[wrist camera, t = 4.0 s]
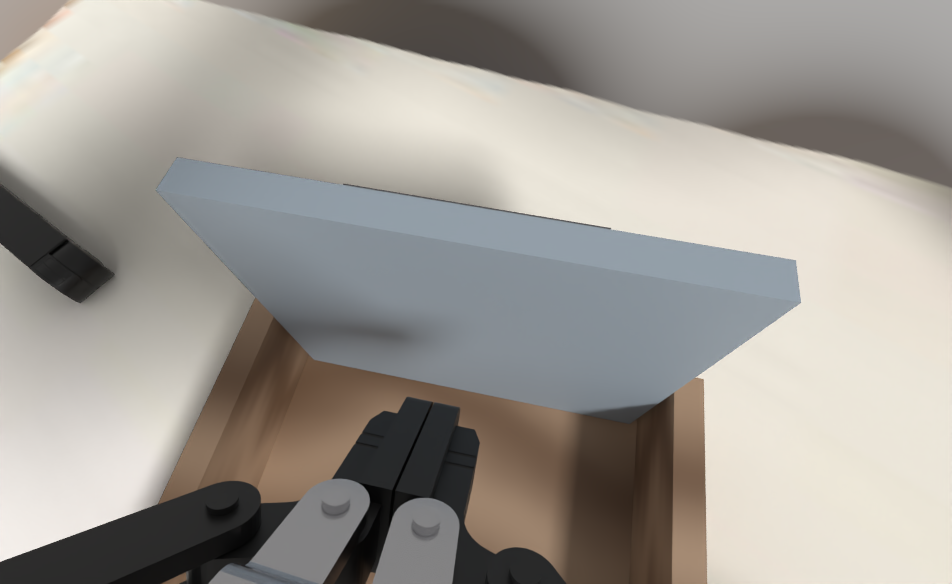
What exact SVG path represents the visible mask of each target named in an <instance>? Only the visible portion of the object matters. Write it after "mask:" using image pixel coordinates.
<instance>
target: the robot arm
mask: <svg viewBox="0 0 952 584" xmlns="http://www.w3.org/2000/svg"><path fill="white" fill-rule="evenodd" d="M459 416H460V407H456V406H451V405H447V404H442V403H437V402H434V404H433V402H432V401H427V400H422V399H417V398H412V397H406V399H405V401H404V402H403V404H402V406H401V408H400V409H399V411H398V413H394V412H389V411H383V412H381V413H380V414H378V415H376V416H375V417H373V418H372V419H370V421H369V422H368V424H367V425H366V427H365V428H364V430H363V431H362V434H360V436H359V438H358V439H357V441H356V443H355V444H354V445H353V447H352V448H351V450H350V451H349V453H348V454H347V456H346V458H345V459H344V461H343V462H342V464H341V465H340V467H339V468H338V470H337V471H336V473H335V475H334V476H333V478H332V479H331V480H327V481H323V482H321V483H318V484H317V485H315V486H313V487H312V488H311V489H309V490H308V491H307V492H306V494H305V495H304V496H303V497H302V499H301V500H299V501H294V502H278V503H261V495H260V493H259V491H258V489H257V488H256V487H254V486H253V485H251V484H249V483H246V482H242V481H224V482H219V483H216V484H213V485H210V486H207V487H204V488H201V489H199V490H196V491H193V492H191V493H188V494H185V495H182V496H180V497H177V498H174V499H171V500H169V501H166V502H163V503H160V504H158V505H155V506H152V507H149V508H147V509H144V510H141V511H138V512H136V513H133V514H130V515H128V516H125V517H122V518H119V519H117V520H114V521H111V522H108V523H106V524H103V525H100V526H97V527H95V528H92V529H89V530H86V531H84V532H81V533H78V534H75V535H73V536H70V537H67V538H65V539H62V540H59V541H56V542H54V543H51V544H48V545H45V546H43V547H40V548H37V549H34V550H32V551H29V552H26V553H23V554H21V555H18V556H15V557H12V558H10V559H7V560H4V561H2V562H0V584H162V583H164V582H166V581H168V580H170V579H172V578H174V577H177V576H179V575H181V574H183V573H185V572H186V581H184V582H182V583H179V584H366V582H367V579H368V577H369V575H370V572H373V573H375V576H374V580H373V583H372V584H566V582H565V581H564V580H563V578H562V577H561V576H560V575H559V573H558V572H557V571H556V569H555V568H554V567H553V565H552V564H551V563H550V562H549V561H548V560H547V559H546V558H544V557H543V556H542V555H540V554H539V553H537V552H535V551H533V550H530V549H527V548H521V547H512V548H507V549H503V550H501V551H499V552H498V553H497V554H495V553H493V552H491V551H489V550H487V549H486V548H484V547H482V546H481V545H480V544H478V543H477V542H476V541H475V540H474V539H473V538H472V537H471V535H470V534H469V532H468V531H467V529H466V526H465V518H466V514H467V509H468V504H469V500H470V495H471V491H472V486H473V480H474V474H475V468H476V462H477V457H478V451H479V445H480V442H479V439H478V436H477V434H476V431H475V429H470V428H465V427H461V426H458V423H459Z"/></svg>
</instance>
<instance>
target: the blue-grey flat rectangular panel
mask: <svg viewBox="0 0 952 584" xmlns="http://www.w3.org/2000/svg"><path fill="white" fill-rule="evenodd" d="M156 191H157V192H158V193H159V194H160V195H161V197H162V198H163V199H164V200H165V201H166V202H167V203H168V204H169V205H170V206H171V207H172V208H173V209H174V210H175V212H176V213H177V214H178V215H179V216H180V217H181V218H182V219H183V220H184V221H185V222H186V223H187V224H188V225H189V227H190V228H191V229H192V230H193V231H194V232H195V233H196V234H197V235H198V236H199V237H200V238H201V239H202V240H203V242H204V243H205V244H206V245H207V246H208V247H209V248H210V249H211V250H212V251H213V252H214V253H215V254H216V255H217V256H218V258H219V259H220V260H221V261H222V262H223V263H224V264H225V265H226V266H227V267H228V268H229V269H230V270H231V271H232V273H233V274H234V275H235V276H236V277H237V278H238V279H239V280H240V281H241V282H242V283H243V284H244V285H245V286H246V288H247V289H248V290H249V291H250V292H251V293H252V294H253V295H254V296H255V297H256V298H257V299H258V300H259V301H260V303H261V304H262V305H263V306H264V307H265V308H266V309H267V310H268V311H269V312H270V313H271V314H272V315H273V316H274V318H275V319H276V320H277V321H278V322H279V323H280V324H281V325H282V326H283V327H284V328H285V329H286V330H287V331H288V333H289V334H290V335H291V336H292V337H293V338H294V339H295V340H296V341H297V342H298V343H299V344H300V345H301V346H302V348H303V349H304V350H305V351H306V352H307V353H308V354H309V355H310V356H311V357H312V358H313V359H314V360H318V361H322V362H327V363H332V364H337V365H342V366H347V367H352V368H357V369H362V370H367V371H372V372H376V373H381V374H386V375H391V376H396V377H401V378H406V379H411V380H416V381H421V382H426V383H430V384H435V385H440V386H445V387H450V388H455V389H460V390H465V391H470V392H475V393H479V394H484V395H489V396H494V397H499V398H504V399H509V400H514V401H519V402H524V403H529V404H533V405H538V406H543V407H548V408H553V409H558V410H563V411H568V412H573V413H578V414H582V415H587V416H592V417H597V418H602V419H607V420H612V421H617V422H622V423H627V424H630V423H632V422H633V421H635V420H636V419H637V418H639V417H640V416H642V415H643V414H644V413H646V412H647V411H649V410H650V409H651V408H653V407H654V406H656V405H657V404H659V403H660V402H661V401H663V400H664V399H666V398H667V397H668V396H670V395H671V394H673V393H674V392H675V391H677V390H678V389H680V388H681V387H683V386H684V385H685V384H687V383H688V382H690V381H691V380H692V379H694V378H695V377H697V376H698V375H699V374H701V373H702V372H704V371H705V370H707V369H708V368H709V367H711V366H712V365H714V364H715V363H716V362H718V361H719V360H721V359H722V358H724V357H725V356H726V355H728V354H729V353H731V352H732V351H733V350H735V349H736V348H738V347H739V346H740V345H742V344H743V343H745V342H746V341H748V340H749V339H750V338H752V337H753V336H755V335H756V334H757V333H759V332H760V331H762V330H763V329H764V328H766V327H767V326H769V325H770V324H772V323H773V322H774V321H776V320H777V319H779V318H780V317H781V316H783V315H784V314H786V313H787V312H788V311H790V310H791V309H793V308H794V307H796V306H797V305H798V304H800V303H801V299H800V291H799V283H798V275H797V267H796V260H790V259H784V258H778V257H772V256H766V255H760V254H754V253H748V252H742V251H736V250H730V249H724V248H718V247H712V246H706V245H700V244H694V243H688V242H682V241H676V240H670V239H664V238H658V237H652V236H646V235H640V234H634V233H628V232H622V231H616V230H611V228H607V227H601V226H595V225H589V224H583V223H577V222H571V221H565V220H559V219H553V218H547V217H541V216H535V215H529V214H523V213H517V212H511V211H504V210H498V209H492V208H486V207H480V206H474V205H468V204H462V203H456V202H450V201H444V200H438V199H432V198H426V197H420V196H414V195H408V194H402V193H396V192H390V191H384V190H378V189H372V188H366V187H360V186H354V185H348V184H343V185H340V184H334V183H328V182H322V181H316V180H310V179H304V178H298V177H292V176H286V175H280V174H274V173H268V172H262V171H256V170H250V169H244V168H238V167H232V166H226V165H220V164H214V163H208V162H202V161H196V160H190V159H184V158H178V157H177V158H176V160H175V161H174V163H173V164H172V166H171V167H170V169H169V170H168V172H167V173H166V175H165V176H164V178H163V179H162V181H161V182H160V184H159V185H158V187H157V188H156Z"/></svg>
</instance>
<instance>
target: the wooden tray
mask: <svg viewBox="0 0 952 584" xmlns="http://www.w3.org/2000/svg"><path fill="white" fill-rule="evenodd" d="M406 397H412V398H417V399H422V400H427V401H432V402H433V404H434V402H437V403H442V404H447V405H451V406H456V407H460V416H459V423H458V426H461V427H465V428H470V429H475V431H476V434H477V436H478V439H479V442H480V445H479V451H478V457H477V462H476V468H475V474H474V480H473V486H472V491H471V495H470V500H469V504H468V509H467V514H466V518H465V526H466V529H467V531H468V532H469V534H470V535H471V537H472V538H473V539H474V540H475V541H476V542H477V543H478V544H480V545H481V546H482V547H484V548H486V549H487V550H489V551H491V552H493V553H495V554H497V553H498V552H499V551H501V550H503V549H507V548H512V547H521V548H527V549H530V550H533V551H535V552H537V553H539V554H540V555H542V556H543V557H544V558H546V559H547V560H548V561H549V562H550V563H551V564H552V565H553V567H554V568H555V569H556V571H557V572H558V573H559V575H560V576H561V577H562V578H563V580H564V581H565V582H566V584H707V551H706V492H705V433H704V379H700V378H694V379H692V380H691V381H690V382H688V383H687V384H685V385H684V386H683V387H681V388H680V389H678V390H677V391H675V392H674V393H673V394H671V395H670V396H668V397H667V398H666V399H664V400H663V401H661V402H660V403H659V404H657V405H656V406H654V407H653V408H651V409H650V410H649V411H647V412H646V413H644V414H643V415H642V416H640V417H639V418H637V419H636V420H635V421H633V422H632V423H630V424H627V423H622V422H617V421H612V420H607V419H602V418H597V417H592V416H587V415H582V414H578V413H573V412H568V411H563V410H558V409H553V408H548V407H543V406H538V405H533V404H529V403H524V402H519V401H514V400H509V399H504V398H499V397H494V396H489V395H484V394H479V393H475V392H470V391H465V390H460V389H455V388H450V387H445V386H440V385H435V384H430V383H426V382H421V381H416V380H411V379H406V378H401V377H396V376H391V375H386V374H381V373H376V372H372V371H367V370H362V369H357V368H352V367H347V366H342V365H337V364H332V363H327V362H322V361H318V360H314V359H313V358H312V357H311V356H310V355H309V354H308V353H307V352H306V351H305V350H304V349H303V348H302V346H301V345H300V344H299V343H298V342H297V341H296V340H295V339H294V338H293V337H292V336H291V335H290V334H289V333H288V331H287V330H286V329H285V328H284V327H283V326H282V325H281V324H280V323H279V322H278V321H277V320H276V319H275V318H274V316H273V315H272V314H271V313H270V312H269V311H268V310H267V309H266V308H265V307H264V306H263V305H262V304H261V303H260V301H259V300H258V299H257V298H256V297H255V300H254V302H253V304H252V306H251V308H250V310H249V312H248V314H247V316H246V319H245V321H244V323H243V325H242V327H241V329H240V331H239V333H238V336H237V338H236V340H235V342H234V344H233V346H232V348H231V350H230V353H229V355H228V357H227V359H226V361H225V363H224V365H223V367H222V369H221V372H220V374H219V376H218V378H217V380H216V382H215V384H214V386H213V389H212V391H211V393H210V395H209V397H208V399H207V401H206V403H205V406H204V408H203V410H202V412H201V414H200V416H199V418H198V420H197V422H196V425H195V427H194V429H193V431H192V433H191V435H190V437H189V439H188V442H187V444H186V446H185V448H184V450H183V452H182V454H181V456H180V458H179V461H178V463H177V465H176V467H175V469H174V471H173V473H172V475H171V478H170V480H169V482H168V484H167V486H166V488H165V490H164V492H163V495H162V497H161V499H160V501H159V503H158V504H160V503H163V502H166V501H169V500H171V499H174V498H177V497H180V496H182V495H185V494H188V493H191V492H193V491H196V490H199V489H201V488H204V487H207V486H210V485H213V484H216V483H219V482H224V481H242V482H246V483H249V484H251V485H253V486H254V487H256V488H257V489H258V491H259V493H260V495H261V503H278V502H294V501H299V500H301V499H302V497H303V496H304V495H305V494H306V492H307V491H308V490H309V489H311V488H312V487H313V486H315V485H317V484H318V483H321V482H323V481H327V480H331V479H332V478H333V476H334V475H335V473H336V471H337V470H338V468H339V467H340V465H341V464H342V462H343V461H344V459H345V458H346V456H347V454H348V453H349V451H350V450H351V448H352V447H353V445H354V444H355V443H356V441H357V439H358V438H359V436H360V434H362V431H363V430H364V428H365V427H366V425H367V424H368V422H369V421H370V419H372V418H373V417H375V416H376V415H378V414H380V413H381V412H383V411H389V412H394V413H398V411H399V409H400V408H401V406H402V404H403V402H404V401H405V399H406ZM374 576H375V573H373V572H370V575H369V577H368V579H367V582H366V584H372V583H373V580H374ZM184 581H186V572H185V573H183V574H181V575H179V576H177V577H174V578H172V579H170V580H168V581H166V582H164V583H162V584H179V583H182V582H184Z"/></svg>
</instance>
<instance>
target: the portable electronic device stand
mask: <svg viewBox="0 0 952 584" xmlns="http://www.w3.org/2000/svg"><path fill="white" fill-rule="evenodd" d="M0 243H1V244H2V245H3V246H4V247H5V248H6V249H8V250H9V251H10V252H11V253H12V254H14V255H15V256H16V257H17V258H18V259H19V260H21V261H22V262H23V263H24V264H25V265H26V266H28V267H29V268H30V269H31V270H32V271H33V272H34V273H36V274H37V275H38V276H39V277H40V278H42V279H43V280H44V281H46V282H47V283H48V284H50V285H51V286H53V287H54V288H55V289H57V290H58V291H60V292H61V293H63V294H64V295H66V296H68V297H69V298H71V299H73V300H74V301H76V302H79V303H81V302H82V301H83V300H85V299H86V298H87V297H88V296H89V295H91V294H92V293H93V292H94V291H95V290H97V289H98V288H99V287H100V286H101V285H103V284H104V283H105V282H106V281H107V280H109V279H110V278H111V277H112V276H113V275H114V273H112V272H111V271H110V270H108V269H107V268H105V267H104V265H103V264H102V263H101V262H100V261H99V260H98V259H96V258H95V257H94V256H93V255H91V254H90V253H88V252H87V251H86V250H84V249H82V248H81V247H80V246H78V245H77V244H76V243H75V242H73V241H72V240H71V239H69V238H68V237H67V236H65V235H64V234H63V233H62V232H60V231H59V230H58V229H57V228H56V227H54V226H53V225H52V224H50V223H49V222H48V221H47V220H45V219H44V218H43V217H42V216H40V215H39V214H38V213H37V212H35V211H34V210H33V209H32V208H30V207H29V206H28V205H27V204H25V203H24V202H23V201H22V200H20V199H19V198H18V197H17V196H15V195H14V194H13V193H12V192H10V191H9V190H8V189H7V188H5V187H4V186H3V185H1V184H0Z"/></svg>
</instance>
